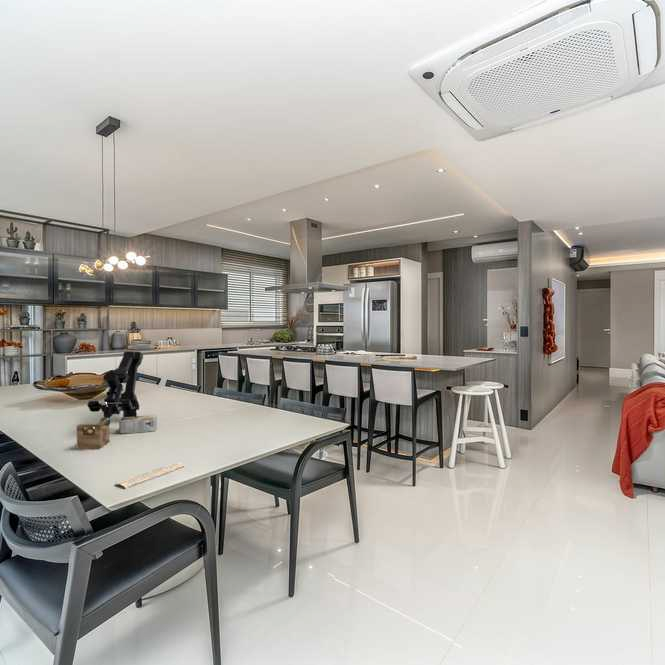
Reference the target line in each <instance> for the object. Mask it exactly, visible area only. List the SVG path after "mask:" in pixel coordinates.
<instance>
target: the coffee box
mask: <svg viewBox="0 0 665 665" xmlns="http://www.w3.org/2000/svg"><path fill="white" fill-rule="evenodd" d="M157 418H158V416H157V414H150V415H137V416H135V417H123V416H121V419H120V420H119V422H118V423H119V424H118V427H119V428H118V433H119V435H125V434H126V433H127V434H135V433H137V434H138V432H139V433H147V432H149V431H151V432H156V431H157V427H158V423H157V422H158V421H157V420H158V419H157ZM149 433H150V432H149Z"/></svg>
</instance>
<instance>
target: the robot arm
mask: <svg viewBox="0 0 665 665" xmlns="http://www.w3.org/2000/svg"><path fill="white" fill-rule="evenodd" d="M143 359H144V353H142V352H141V351H133V350H132V351H130V350H129V351H124V352H123V356H122V359H121V361H120V362H119V366H117V368H116V369H110V370H109V371H108V372H106V373H105V374H103V378H102V379H103V380H104V383H105V384H106V386H107V387H108V391H106V394H105V395H106V397H105V398H104V400H103V402H102V401H101V403H100V402H99V400H89V401H88V402H87V404H86V405H87V408H88V409H89V411H90V412H92V413H94V412H100V411H102V413H103V418H104V417H108V418H109V419H111V417H112V416H113V415H119V414H121V412H122V415H123V416H122V417H135V416H138V413H137V411H138V410H140V404H139V403H140V402H139V401H138V397H137V395H136V393H135V390H136V382H137V376H138V368H139V367H140V366H141V364H142V362H143ZM123 384H125V387H124V385H123ZM123 387H124V388H125V389H124V388H123ZM123 391H124V392H123Z"/></svg>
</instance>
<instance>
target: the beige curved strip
mask: <svg viewBox="0 0 665 665" xmlns="http://www.w3.org/2000/svg"><path fill="white" fill-rule="evenodd" d="M183 468H186V465H185V464H184V463H183V462H180V461H176V462H173V463H171V464H167V465H164V466H162V467H159V468H156V469H155V470H151V471H148V472H146V473H142V474H140V475H137V476H134V477H131V478H129V479H126V480H123V481H120V482H118V483H116V484H114V487H115V486H116V487H117V486H123V487H124V488H125V490H128V489H131V488H133V487H136V486H138V485H142V484H144V483H146V482H148V481H151V480H154V479H157V478H160V477H163V476H165V475H167V474H170V473H172V472H175V471H178V470H181V469H183Z"/></svg>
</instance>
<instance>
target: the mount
mask: <svg viewBox="0 0 665 665" xmlns="http://www.w3.org/2000/svg"><path fill="white" fill-rule="evenodd" d="M93 427H95V432H94V433H93V434H91V435H87V434H86V429H87V428H93ZM108 442H109V443H110V425H108V426H103V427H102V424H96V423H87V424H85V423H84V424H77V425H76V449H77V451H84V450H83V449H91V450H101V449H102V448H104V447H105V446H107V445H108V444H109V443H108ZM107 443H108V444H107ZM104 445H105V446H104ZM103 446H104V447H103ZM100 448H101V449H100Z"/></svg>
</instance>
